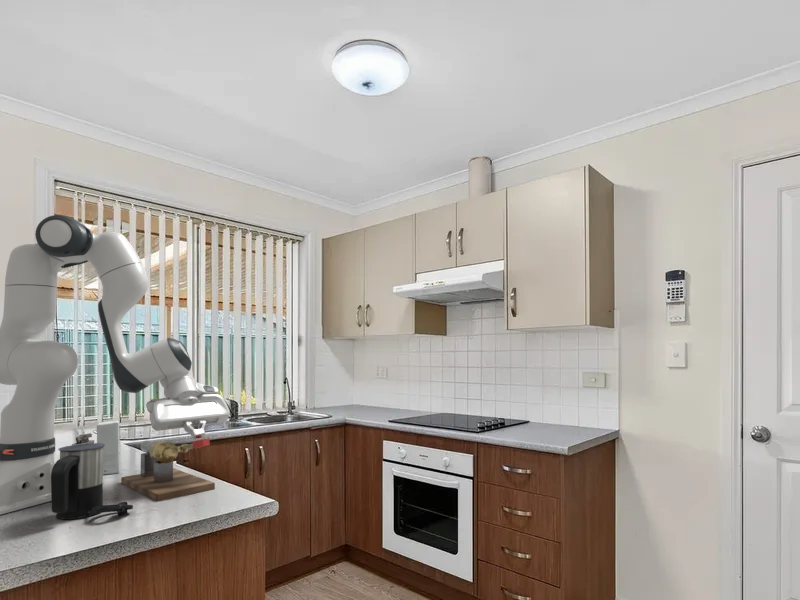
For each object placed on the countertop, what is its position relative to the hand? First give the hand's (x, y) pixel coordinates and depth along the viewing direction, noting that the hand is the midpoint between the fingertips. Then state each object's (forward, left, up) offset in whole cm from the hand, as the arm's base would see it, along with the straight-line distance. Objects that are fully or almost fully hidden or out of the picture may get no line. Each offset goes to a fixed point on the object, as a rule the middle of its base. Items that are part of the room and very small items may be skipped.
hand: (199, 436), depth 139 cm
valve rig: (+1, +11, -13) cm, 17 cm away
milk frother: (-23, +10, -13) cm, 29 cm away
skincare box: (+14, +40, -13) cm, 44 cm away
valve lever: (+6, +9, -4) cm, 12 cm away
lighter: (+20, +55, -13) cm, 60 cm away
